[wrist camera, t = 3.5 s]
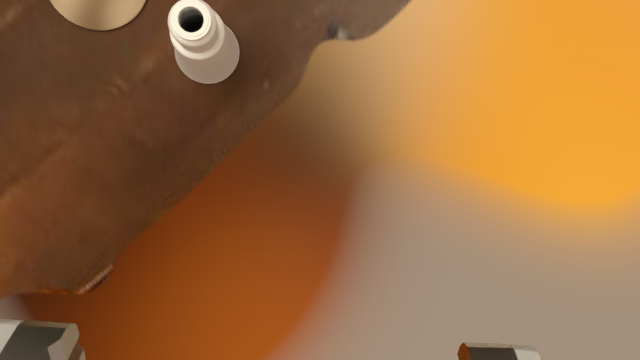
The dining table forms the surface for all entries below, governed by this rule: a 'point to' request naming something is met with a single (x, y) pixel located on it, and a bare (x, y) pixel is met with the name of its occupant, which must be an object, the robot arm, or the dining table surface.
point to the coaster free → (99, 12)
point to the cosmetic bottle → (202, 42)
